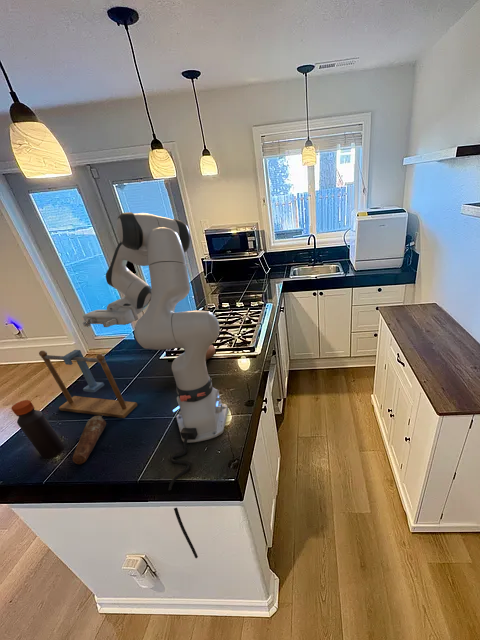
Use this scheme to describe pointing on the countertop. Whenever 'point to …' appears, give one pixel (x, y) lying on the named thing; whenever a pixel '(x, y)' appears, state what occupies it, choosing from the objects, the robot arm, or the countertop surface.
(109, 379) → the rail stand
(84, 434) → the bread
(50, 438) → the bottle
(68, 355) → the hanger
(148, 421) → the countertop surface
